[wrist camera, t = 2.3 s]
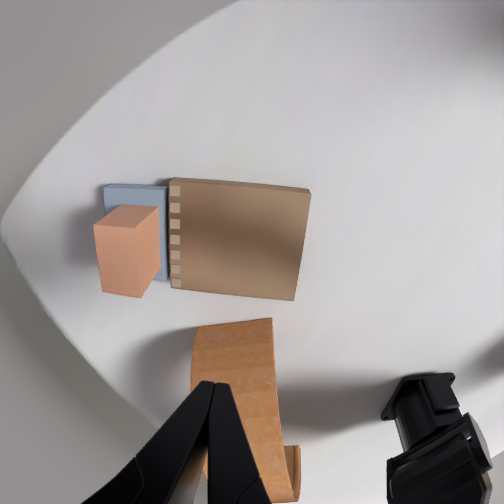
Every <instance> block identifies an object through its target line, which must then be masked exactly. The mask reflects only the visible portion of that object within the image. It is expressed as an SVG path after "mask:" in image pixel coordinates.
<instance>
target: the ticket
mask: <svg viewBox="0 0 504 504" xmlns="http://www.w3.org/2000/svg"><path fill="white" fill-rule="evenodd" d="M310 199H311V193H310V191H309V189H303V188H294V187H286V186H276V185H267V184H256V183H246V182H234V181H221V180H208V179H192V178H173V179H172V180H170V181H169V256H170V280H171V288H174V289H182V290H190V291H199V292H207V293H216V294H225V295H235V296H244V297H254V298H265V299H275V300H287V301H294V297H295V291H296V286H297V280H298V274H299V269H300V263H301V257H302V251H303V245H304V238H305V232H306V226H307V219H308V213H309V206H310Z"/></svg>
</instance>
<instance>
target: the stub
mask: <svg viewBox="0 0 504 504" xmlns="http://www.w3.org/2000/svg"><path fill="white" fill-rule="evenodd" d="M103 190H104V207H105V217H103V218H102V219H100V220H99V221H98V222H96V223H95V224H94V225H93V228H94V237H95V245H96V253H97V260H98V267H99V273H100V279H101V285H102V291H103V292H105V293H111V294H117V295H123V296H129V297H136V298H141V297H142V295H143V294H144V292H145V291H146V289H147V288H148V286H149V285H150V283H151V281H152V280H156V281H164V282H166V280H167V279H168V277H169V275H170V261H169V221H168V186H151V185H127V184H110V185H108V186H106V187H104V188H103Z"/></svg>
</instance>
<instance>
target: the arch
mask: <svg viewBox="0 0 504 504" xmlns="http://www.w3.org/2000/svg"><path fill="white" fill-rule="evenodd" d="M202 380H206V381H213V382H215V384H216V383H217V382H222V383H228V384H230V386H231V390H232V393H233V396H234V399H235V402H236V406H237V409H238V412H239V415H240V418H241V421H242V424H243V427H244V430H245V433H246V436H247V439H248V442H249V445H250V448H251V451H252V454H253V456H254V459H255V462H256V465H257V468H258V470H259V473H260V477H261V478H262V481H263V484H264V486H265V489H266V491H267V494H268V496H269V498H270V501H271V503H287V502H297V501H298V500H299V496H300V488H301V451H300V448H299V445H296V446H283V439H282V431H281V423H280V415H279V406H278V396H277V385H276V374H275V360H274V342H273V324H272V318H266V319H259V320H252V321H244V322H236V323H228V324H220V325H211V326H202V327H198V328H197V331H196V335H195V341H194V346H193V352H192V363H191V392H192V391H193V389H194V388H195V387H196V386H197V385H198V384H199V382H200V381H202ZM203 471H204V473H205V476H206V478H207V481H208V452H207V456H206V459H205V463H204V466H203Z"/></svg>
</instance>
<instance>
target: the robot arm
mask: <svg viewBox="0 0 504 504" xmlns="http://www.w3.org/2000/svg"><path fill="white" fill-rule="evenodd" d="M454 380H455V375H454V374H453V373H450V374H440V375H429V376H415V377H406V378H404V379H403V380H402V381H401V383H400V384H399V386H398V388H397V390H396V391H395V393H394V395H393V396H392V398H391V400H390V401H389V403H388V405H387V406H386V408H385V410H384V411H383V413H382V414H381V420H382V421H386V420H395V423H396V427H397V430H398V433H399V437H400V440H401V444H402V448H403V451H404V453H402V454H400V455H398V456H396V457H394V458H390V459H388V460H387V468H386V469H387V500H388V504H488V503H489V499H490V496H491V492H492V484H491V481H490V478H489V475H488V472H487V471H489V470H490V469H492V468H493V466H492V462H491V458H490V454H489V451H488V447H487V444H486V441H485V438H484V436H483V434H482V432H481V430H480V428H479V426H478V424H477V423H476V421H475V420H474V419H473V418H472V416H471V415H470V414H469V412H467V413H466V414H464V415H463V417H462V415H461V413H460V410H459V408H458V407H459V403H458V401H457V399H456V397H455V395H454V392H453V390H452V388H451V384H452V383H453V381H454ZM470 436H471V438H470V439H468V440H467V438H469V437H470ZM207 452H208V504H272V503H271V501H270V498H269V496H268V494H267V491H266V489H265V486H264V484H263V481H262V478H261V477H260V473H259V470H258V468H257V465H256V462H255V459H254V456H253V454H252V451H251V448H250V445H249V442H248V439H247V436H246V433H245V430H244V427H243V424H242V421H241V418H240V415H239V412H238V409H237V406H236V402H235V399H234V396H233V393H232V390H231V386H230V384H228V383H222V382H217V383H216V384H215V382H213V381H206V380H202V381H200V382H199V384H198V385H197V386H196V387H195V388H194V389H193V391H192V392H191V393H190V394H189V395H188V397H187V398H186V399H185V400H184V401H183V402H182V404H181V405H180V406H179V407H178V408H177V409H176V410H175V412H174V413H173V414H172V415H171V416H170V417H169V418H168V420H167V421H166V422H165V423H164V424H163V425H162V426H161V428H160V429H159V430H158V431H157V432H156V433H155V434H154V436H153V437H152V438H151V439H150V440H149V441H148V442H147V443H146V444H145V446H144V447H143V448H142V449H141V450H140V451H139V452H138V453H137V454H136V457H133V459H132V460H131V461H130V462H129V463H128V464H127V465H126V466H125V467H124V468H123V469H122V470H121V471H120V472H119V473H118V474H117V475H116V476H115V477H114V478H113V479H112V480H110V481H109V482H108V483H107V484H106V485H105V486H103V487H102V488H101V489H99V490H98V491H97V492H95V493H94V494H93V495H92V496H90V497H89V498H88V499H86V500H85V501H84V502H82V503H81V504H193V501H194V497H195V494H196V490H197V487H198V483H199V480H200V477H201V473H202V470H203V466H204V463H205V459H206V456H207Z"/></svg>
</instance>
